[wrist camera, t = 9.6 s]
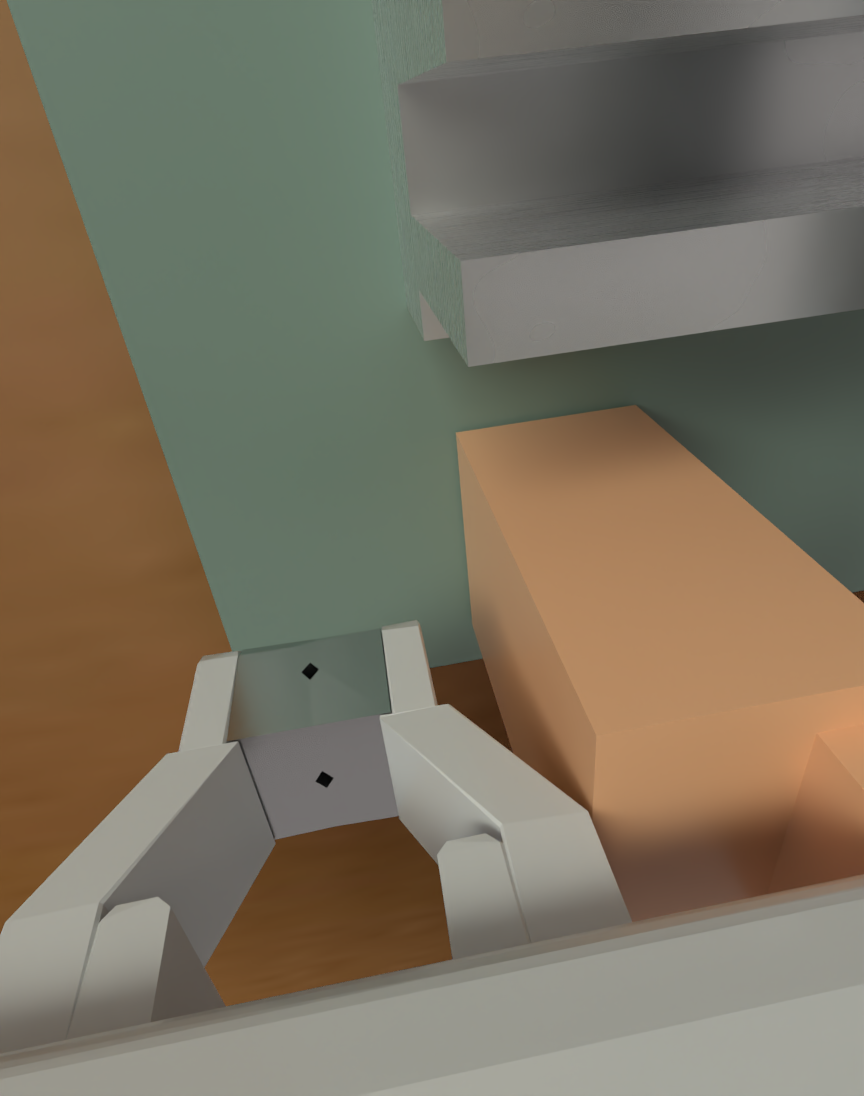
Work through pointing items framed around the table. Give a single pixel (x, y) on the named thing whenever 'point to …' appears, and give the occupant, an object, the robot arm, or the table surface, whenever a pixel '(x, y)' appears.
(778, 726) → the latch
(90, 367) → the table surface
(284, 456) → the board
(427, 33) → the heatsink
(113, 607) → the table surface
